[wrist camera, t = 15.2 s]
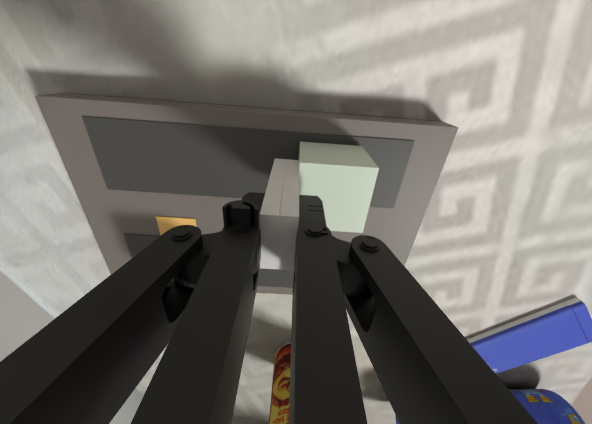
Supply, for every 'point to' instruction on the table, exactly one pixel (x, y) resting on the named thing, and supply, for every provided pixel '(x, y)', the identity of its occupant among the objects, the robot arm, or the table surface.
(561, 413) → the pencil case
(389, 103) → the table surface
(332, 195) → the sage tab
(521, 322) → the hard drive
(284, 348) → the canned food
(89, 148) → the switch panel
